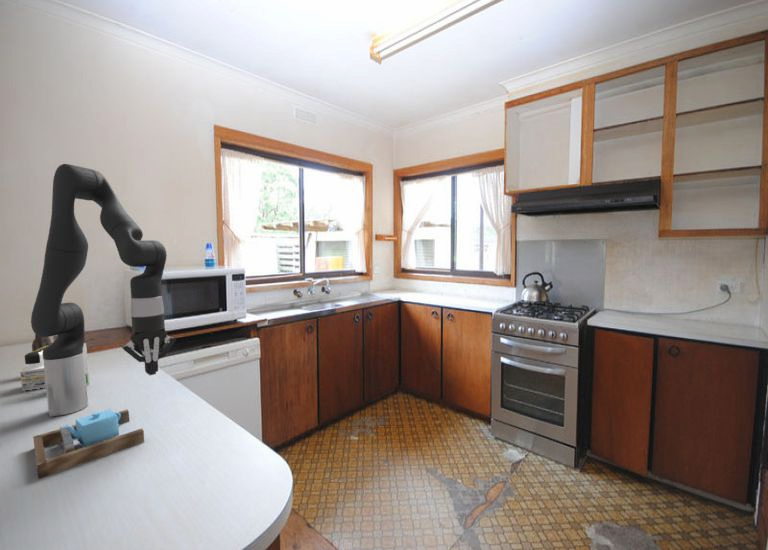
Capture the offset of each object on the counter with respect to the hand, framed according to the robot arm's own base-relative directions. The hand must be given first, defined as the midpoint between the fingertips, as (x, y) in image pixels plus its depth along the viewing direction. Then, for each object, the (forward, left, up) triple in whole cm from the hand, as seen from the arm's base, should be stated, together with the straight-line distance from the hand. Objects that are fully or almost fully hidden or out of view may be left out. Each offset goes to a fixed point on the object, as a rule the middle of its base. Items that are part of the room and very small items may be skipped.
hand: (151, 374), depth 100 cm
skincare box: (-13, +56, -15) cm, 59 cm away
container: (-21, +67, -15) cm, 72 cm away
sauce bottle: (-19, +84, -14) cm, 87 cm away
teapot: (-14, 0, -15) cm, 20 cm away
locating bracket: (-15, 0, -14) cm, 20 cm away
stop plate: (-19, 0, -14) cm, 23 cm away
